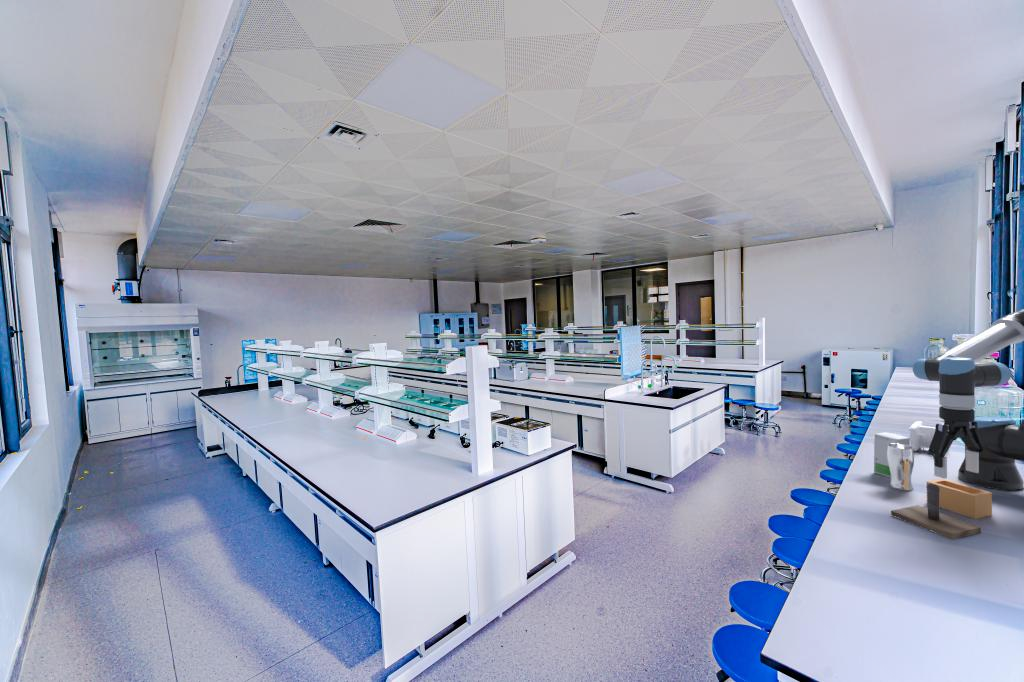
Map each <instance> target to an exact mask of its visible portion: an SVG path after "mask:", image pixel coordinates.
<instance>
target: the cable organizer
mask: <svg viewBox="0 0 1024 682" xmlns="http://www.w3.org/2000/svg"><path fill="white" fill-rule="evenodd" d="M942 425H944V423H942ZM935 428H936V426H928V425H927V426H926V425H924V423H923V421H918V420H917V421H915V422H914V423H912V425H911V426H909V427H908V432H909V438H910V446H912V447H913V452H917V451H918V450H919V449H920V448H921V449H923V450H924V449H925V448H928V449H929V447H930V444H931V442H932V439H933V436H934V433H935ZM947 435H948V434H947ZM933 451H934V450H933Z"/></svg>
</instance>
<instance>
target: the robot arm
mask: <svg viewBox="0 0 1024 682" xmlns="http://www.w3.org/2000/svg"><path fill="white" fill-rule="evenodd" d="M1023 342H1024V308H1021V309H1018V310H1016V311H1014V312H1010V313H1008V314H1006V315H1004V316H1002V317H1001V318H998V319H996V320H995V321H993V322H992V323H991V324H990V325H989V327H988V328H986V329H985V330H983V331H981V332H979V333H978V334H975V335H973V336H972V337H969V338H968V339H966V340H964V341H963V342H961V343H959V344H957V345H955V346H954V347H952V348H950V349H948V350H946V351H945V352H943V353H941V354H939V355H937V356H936V357H934V358H929V357H927V358H918V359H917V360H915V362H914V363H913V365H912V372H913V375H914V377H916V379H917V378H918V379H920V380H924V381H925V380H926V381H929V382H938V383H939V390H938V391H939V394H938V397H939V401H938V403H939V406H940V407H938V415H939V416H938V417H939V418H940V419H941V420H943V421H944V422H943V423H942V424H944V425H942V424H941V423H936V424H935V427H936V428H935V433H934V436H933V439H932V442H931V444H930V447H929V448H928V451H927V454H929V455H930V456H933V466H934V467H933V469H934V475H933V476H934V477H938V478H940V479H946V480H947V479H948V457H946V455H947V453H948V451H949V449H950V448H951V446H952V444H953V442H954V441H957V439H961V441H962V442H963V444H964V458H963V460H962V463H961V465H960V466H959V469H958V471H957V472H958V473H957V475H958V478H959V480H962V481H964V482H965V481H966V483H968V484H972V485H974V484H975V485H976V486H978V485H979V487H983V486H984V488H988V487H990V488H989V489H994V488H997V489H996V490H1002V489H1006V490H1005V491H1016V490H1015V489H1019V490H1022V489H1023V488H1024V480H1023V478H1022V475H1021V473H1020V471H1019V469H1018V467H1017V465H1016V461H1019V462H1024V418H1022V419H1021V422H1020V424H1016V421H1015V419H1014V418H1011V417H997V416H978V417H975V415H976V414H975V410H974V408H975V407H976V406H975V405H976V404H975V402H976V400H975V388H983V387H998V386H1002V385H1005V384H1007V383H1008V382H1009V381H1010V380H1011V378H1012V371H1011V369H1010V367H1008V366H1007V365H1006V364H1004V363H1002V362H997V361H985V362H982V361H983V360H985V359H987V358H988V357H990V356H992V355H993V354H994V355H995V353H997V352H999V351H1001V350H1003V349H1005V348H1006V347H1008V346H1010V345H1012V344H1013V345H1014V344H1015V345H1016V344H1019V343H1023ZM947 434H948V435H947ZM933 450H934V451H933ZM975 485H974V486H975Z"/></svg>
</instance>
